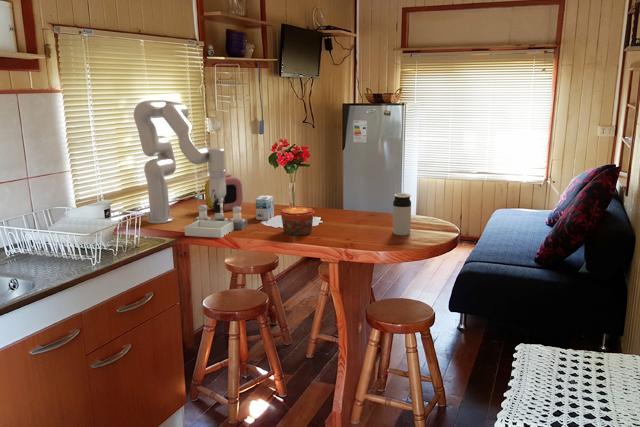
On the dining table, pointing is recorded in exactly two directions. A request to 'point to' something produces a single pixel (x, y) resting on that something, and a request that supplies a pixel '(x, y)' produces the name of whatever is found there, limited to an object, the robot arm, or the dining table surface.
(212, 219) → the fuse block
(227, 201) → the alarm clock
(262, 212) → the light bulb box
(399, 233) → the travel mug
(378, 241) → the dining table surface
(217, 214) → the marked fuse
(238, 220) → the right fuse
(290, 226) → the food container
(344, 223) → the dining table surface
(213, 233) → the tray
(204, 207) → the left fuse
